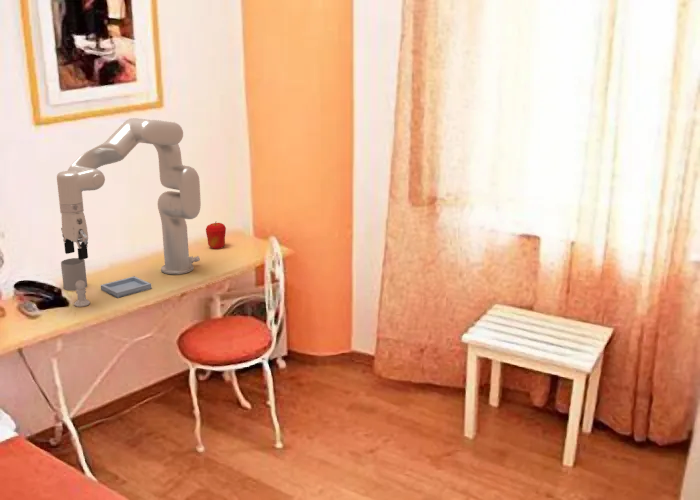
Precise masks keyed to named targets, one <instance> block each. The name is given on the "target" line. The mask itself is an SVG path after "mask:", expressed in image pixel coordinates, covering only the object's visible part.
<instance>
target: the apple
mask: <svg viewBox="0 0 700 500" xmlns="http://www.w3.org/2000/svg"><path fill="white" fill-rule="evenodd" d="M226 231H227V227H226V226H225V223H222V222H217V221H215V222H213V223H210V224H208V225H206V228H205V234H206V238H207V245H208V246H209V247H210V248H211V249H213V250H218V249H222V248H223V247H225V245H226Z"/></svg>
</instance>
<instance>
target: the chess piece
mask: <svg viewBox="0 0 700 500" xmlns="http://www.w3.org/2000/svg"><path fill="white" fill-rule="evenodd" d="M75 286H76V288H77V289H76V291H75V293H76V295H77V300H76V301H75V302H74V306H75V307H78V308H81V307H87V306H89V305H90V304H91V302H90V300H89V299H87V297H86V293H87V289H86V288H85V282H84V281H82V280H79V281H77V282H76V284H75Z"/></svg>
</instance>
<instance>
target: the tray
mask: <svg viewBox="0 0 700 500" xmlns="http://www.w3.org/2000/svg"><path fill="white" fill-rule="evenodd" d="M151 289H153V288H152V283H150V282H148V281H146V280H144V279H142V278H139V277H137V276H130V277H126V278H122V279H119V280H114V281H110V282H108V283H107V282H106V283H103V284H100V291H102V292H104V293H106V294H108V295H109V296H110V295H111V296H112V297H114V298H116V299H119V298H122V297H126V296H131V295H133V294H137V293H141V291H142V292H144V291H148V290H151Z"/></svg>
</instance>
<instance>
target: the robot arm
mask: <svg viewBox="0 0 700 500" xmlns="http://www.w3.org/2000/svg"><path fill="white" fill-rule="evenodd" d="M183 130H184V129H183V128H182V126H181V125H180V124H179V123H177V122H175V121H167V120H165V121H164V120H159V119H158V120H157V119H147V118H146V119H145V118H139V117H138V118H137V117H132V118H131V117H130V118H128V119H126V120H124V122H123V123H122V124H121V125H120V126H119V127H118V128H117V129H116V130H115V131H114V132H113V133H112V134H111V136H109V137H108V138H107V139H106V140H105V141H104V142H102V143H101V144H99V145H97V146H95V147H93V148H92V149H89V150H87V151H86V152H84V153H82V154H81V155H80V156H78V157H77V159H76V160H74V161H73V162H72V164H70V165H69V167H68V169H67V170H63V171H60V172H58V173H57V175H56V183H57V192H58V193H57V195H58V200H59V201H58V202H59V211H60V214H61V227H60V231H61V233H62V234H61V236H62V237H63V239H62V240H63V245H64V253H65V254H66V255H68V254H72V253H75V251H76V250H75V244H74V243H76V245H77V247H78V248H77V255H78V256H77V258H78V259H79V260H82V259H84V260H86V259H88V258H89V255H88V254H89V253H88V243H89V242H88V241H89V233H88V226H87V222H86V217H85V216H86V215H85V213H84V203H83V202H84V201H83V200H84V199H83V192H86V191H96V190H99V189H101V188H102V187H103V186H104V184H105V181H106V178H105V175H104V173H103V172H102V171H101V170H100V169H99V168H101V167H103V166H106V165H110V164H114V163H115V164H116V163H118V162H121V161H123V160H124V159H125V158H126V157H127V156H128V155H129V153H131V152H132V150H133V149H134V148H136V146H137V145H138V144H140V143H141V144H147V145H148V144H149V145H152V146H154V147H155V149H156V153H157V155H158V169H159V180H160V184H161V186H163V187H164V188H167V189H172V190H175V191H172V190H171V191H170V190H169V191H164V192H162V193H161V194H160V196H159V197H158V200H157V209H158V213H159V217H160V221H161V231H162V243H163V244H162V245H163V259H164V265H162V266H161V268H160V270H161V273H162V274H166V275H183V274H188V273H190V272H192V271H193V270H194V262H195V263H196V262H199V261H200V260H201V259H200V256H198V255H197V256H194V257H193V255H192V256H190V251H189V238H188V226H187V225H188V224H187V221H186V220H193V219H195V218H197V217H198V215H199V213H200V211H201V185H200V177H199V174H198V172H197V170H196V169H195V168H193V167H192V166H189V165H183V161H182V160H183V159H182V153H181V147H180V146H179V143H181V141H182V140H183V137H184V131H183ZM178 191H179V192H178Z"/></svg>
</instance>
